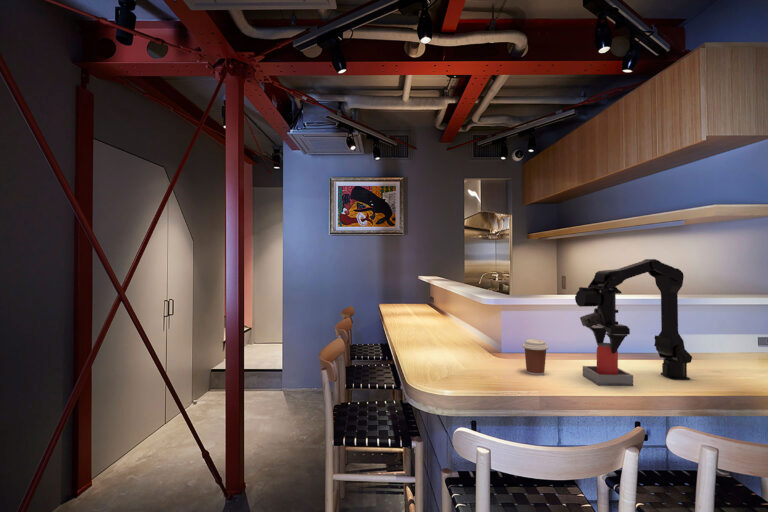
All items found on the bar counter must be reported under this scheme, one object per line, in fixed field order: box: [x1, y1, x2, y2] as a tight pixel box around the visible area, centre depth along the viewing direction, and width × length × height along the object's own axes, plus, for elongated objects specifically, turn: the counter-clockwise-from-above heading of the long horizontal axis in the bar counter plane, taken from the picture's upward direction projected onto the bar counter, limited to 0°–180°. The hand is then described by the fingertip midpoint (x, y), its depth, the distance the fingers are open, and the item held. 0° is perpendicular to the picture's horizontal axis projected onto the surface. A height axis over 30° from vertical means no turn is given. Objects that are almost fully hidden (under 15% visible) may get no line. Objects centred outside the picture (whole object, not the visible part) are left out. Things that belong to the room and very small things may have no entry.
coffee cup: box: [522, 338, 549, 376], centre depth 150 cm, size 9×9×12 cm
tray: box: [582, 365, 634, 387], centre depth 140 cm, size 12×12×4 cm
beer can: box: [596, 342, 619, 375], centre depth 140 cm, size 7×7×12 cm
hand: (606, 350), depth 140 cm, fingers open, 9 cm apart
